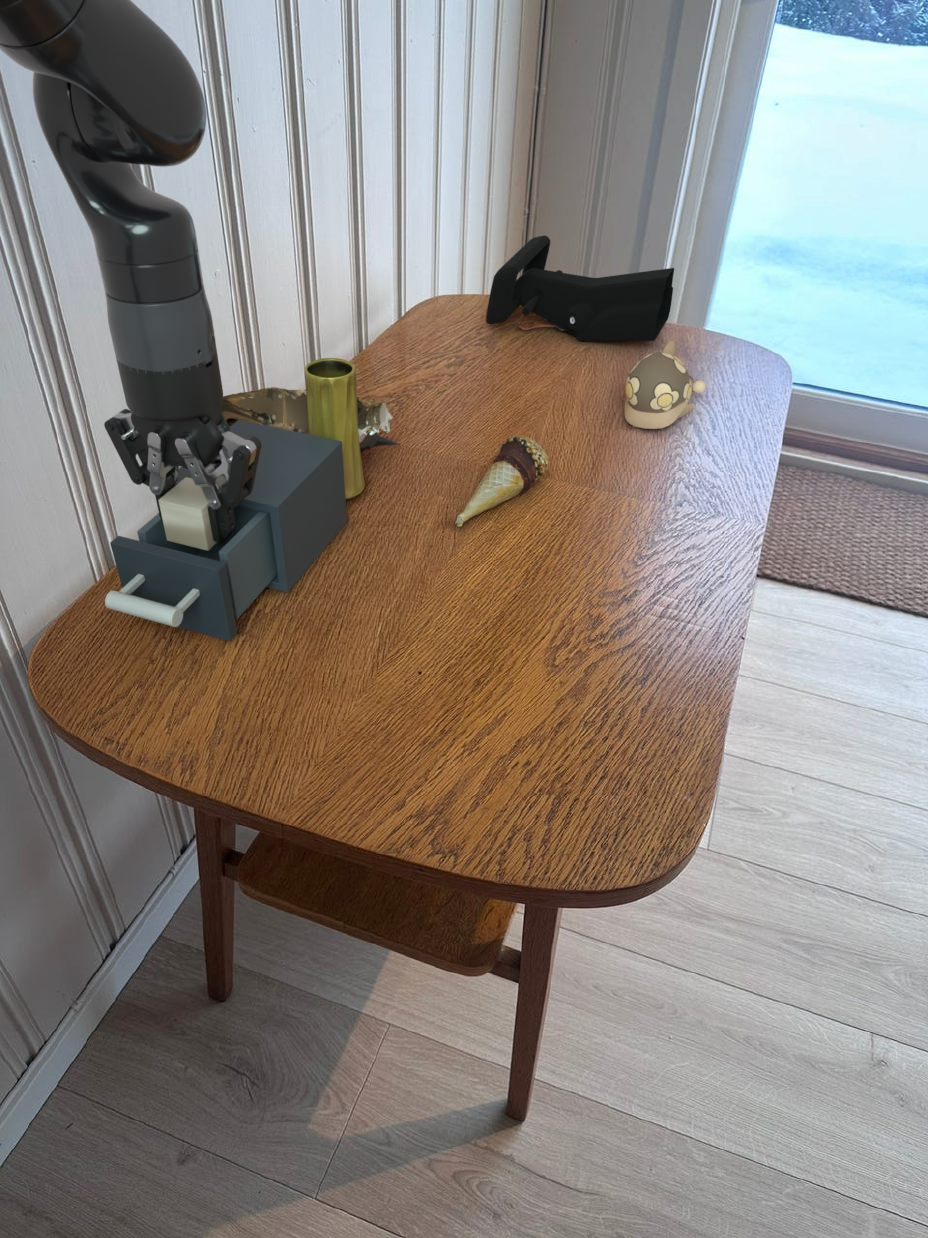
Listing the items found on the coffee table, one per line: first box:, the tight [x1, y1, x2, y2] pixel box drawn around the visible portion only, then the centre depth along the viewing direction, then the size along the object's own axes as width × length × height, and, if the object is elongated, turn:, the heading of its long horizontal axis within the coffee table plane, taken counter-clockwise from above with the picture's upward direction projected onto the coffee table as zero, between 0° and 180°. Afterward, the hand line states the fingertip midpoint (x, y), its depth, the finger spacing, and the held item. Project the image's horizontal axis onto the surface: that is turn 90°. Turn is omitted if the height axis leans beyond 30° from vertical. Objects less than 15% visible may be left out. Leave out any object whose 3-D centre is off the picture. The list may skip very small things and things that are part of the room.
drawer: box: [104, 506, 277, 642], centre depth 79 cm, size 16×11×8 cm, turn 160°
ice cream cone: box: [454, 434, 549, 527], centre depth 98 cm, size 6×6×15 cm
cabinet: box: [175, 420, 348, 593], centre depth 88 cm, size 13×12×10 cm
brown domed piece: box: [624, 338, 707, 430], centre depth 116 cm, size 10×11×15 cm
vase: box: [304, 357, 366, 501], centre depth 95 cm, size 6×6×14 cm
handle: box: [485, 234, 675, 342], centre depth 135 cm, size 17×27×15 cm, turn 67°
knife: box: [518, 320, 565, 332], centre depth 140 cm, size 13×1×3 cm
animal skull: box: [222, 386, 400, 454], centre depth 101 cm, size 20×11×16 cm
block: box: [158, 477, 219, 551], centre depth 78 cm, size 4×4×4 cm
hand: (199, 531), depth 79 cm, fingers closed on block, 4 cm apart
